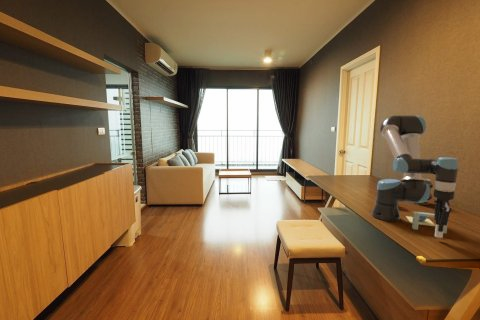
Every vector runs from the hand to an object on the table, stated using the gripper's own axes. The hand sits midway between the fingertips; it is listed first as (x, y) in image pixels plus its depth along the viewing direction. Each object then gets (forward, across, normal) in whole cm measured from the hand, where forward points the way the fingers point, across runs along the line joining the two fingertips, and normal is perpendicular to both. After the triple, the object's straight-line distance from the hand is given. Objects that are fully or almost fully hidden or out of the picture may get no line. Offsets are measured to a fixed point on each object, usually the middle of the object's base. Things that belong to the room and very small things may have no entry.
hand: (438, 236), depth 119 cm
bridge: (+2, +13, 0) cm, 13 cm away
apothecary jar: (+2, +70, -12) cm, 71 cm away
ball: (-1, +27, 0) cm, 27 cm away
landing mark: (+2, +27, 0) cm, 27 cm away
